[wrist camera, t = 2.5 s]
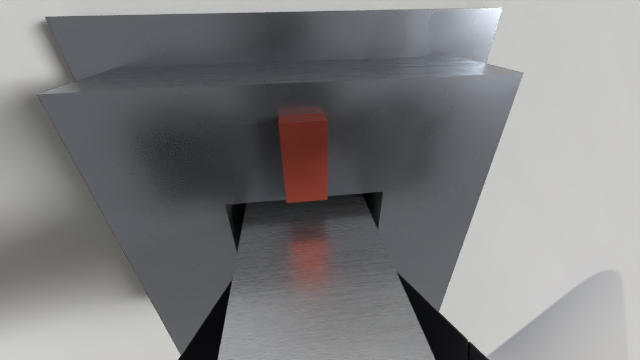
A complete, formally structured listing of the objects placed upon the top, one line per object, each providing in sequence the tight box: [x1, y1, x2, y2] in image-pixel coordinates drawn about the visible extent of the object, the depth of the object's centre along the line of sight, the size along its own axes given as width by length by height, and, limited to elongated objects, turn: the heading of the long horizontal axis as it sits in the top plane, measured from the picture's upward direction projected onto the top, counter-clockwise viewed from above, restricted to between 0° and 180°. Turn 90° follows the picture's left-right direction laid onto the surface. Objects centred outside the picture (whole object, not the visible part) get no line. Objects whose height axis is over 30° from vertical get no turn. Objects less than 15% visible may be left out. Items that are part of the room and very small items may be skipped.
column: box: [218, 193, 435, 360], centre depth 9 cm, size 4×4×8 cm
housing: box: [37, 8, 523, 355], centre depth 12 cm, size 15×15×5 cm
